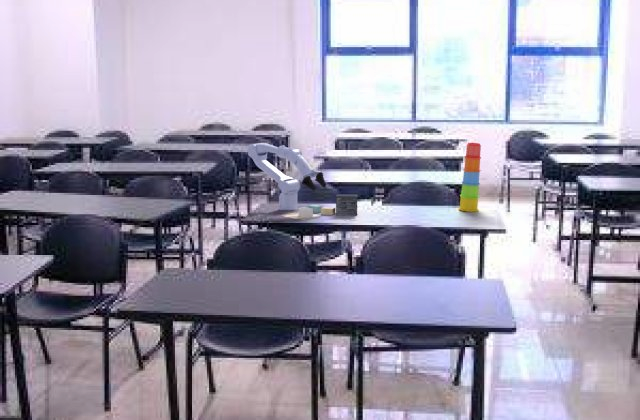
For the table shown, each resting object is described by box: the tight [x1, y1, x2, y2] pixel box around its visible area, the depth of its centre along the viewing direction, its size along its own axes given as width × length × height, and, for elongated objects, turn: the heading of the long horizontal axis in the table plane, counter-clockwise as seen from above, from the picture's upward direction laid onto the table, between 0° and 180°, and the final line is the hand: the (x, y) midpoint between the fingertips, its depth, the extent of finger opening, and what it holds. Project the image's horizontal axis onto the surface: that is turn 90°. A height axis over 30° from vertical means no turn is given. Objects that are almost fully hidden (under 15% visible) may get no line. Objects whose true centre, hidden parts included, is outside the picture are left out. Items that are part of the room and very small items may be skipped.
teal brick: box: [307, 204, 323, 214], centre depth 371 cm, size 6×4×4 cm, turn 47°
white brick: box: [297, 206, 314, 218], centre depth 359 cm, size 6×4×4 cm, turn 46°
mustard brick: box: [320, 206, 336, 216], centre depth 365 cm, size 6×4×4 cm, turn 67°
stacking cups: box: [458, 142, 482, 213], centre depth 374 cm, size 10×10×35 cm
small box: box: [335, 193, 358, 217], centre depth 364 cm, size 11×6×10 cm, turn 84°
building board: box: [280, 211, 323, 221], centre depth 362 cm, size 16×14×1 cm
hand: (320, 187), depth 365 cm, fingers open, 7 cm apart
